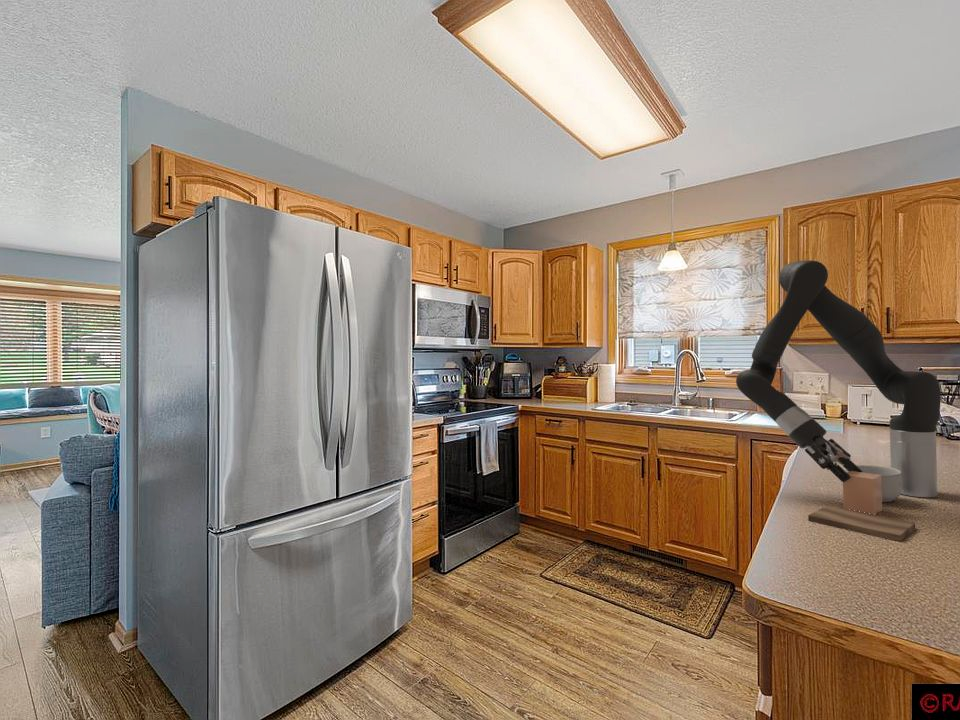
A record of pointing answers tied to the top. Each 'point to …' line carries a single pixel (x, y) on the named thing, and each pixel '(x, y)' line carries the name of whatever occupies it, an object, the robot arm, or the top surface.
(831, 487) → the top surface
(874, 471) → the teacup
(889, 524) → the board
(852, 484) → the peach colored cube
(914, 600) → the top surface
